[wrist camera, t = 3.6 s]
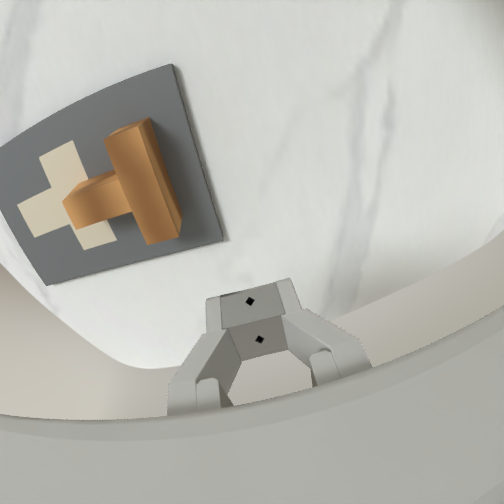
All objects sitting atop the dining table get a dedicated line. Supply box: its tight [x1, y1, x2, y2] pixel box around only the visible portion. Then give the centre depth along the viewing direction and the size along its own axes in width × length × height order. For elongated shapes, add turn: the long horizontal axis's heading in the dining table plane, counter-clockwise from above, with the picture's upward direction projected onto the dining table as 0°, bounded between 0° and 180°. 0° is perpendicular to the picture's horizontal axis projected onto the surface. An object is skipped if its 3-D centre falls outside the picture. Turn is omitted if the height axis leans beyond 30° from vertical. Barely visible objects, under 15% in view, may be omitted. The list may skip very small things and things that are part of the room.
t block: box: [62, 117, 183, 245], centre depth 24 cm, size 9×10×4 cm
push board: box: [0, 64, 223, 286], centre depth 26 cm, size 24×18×1 cm
